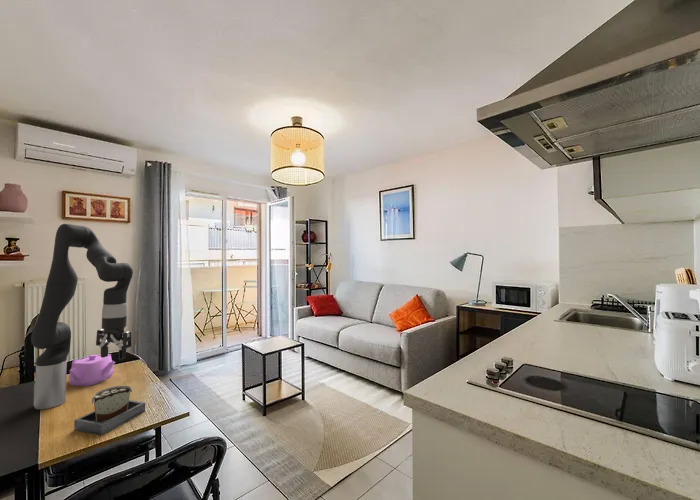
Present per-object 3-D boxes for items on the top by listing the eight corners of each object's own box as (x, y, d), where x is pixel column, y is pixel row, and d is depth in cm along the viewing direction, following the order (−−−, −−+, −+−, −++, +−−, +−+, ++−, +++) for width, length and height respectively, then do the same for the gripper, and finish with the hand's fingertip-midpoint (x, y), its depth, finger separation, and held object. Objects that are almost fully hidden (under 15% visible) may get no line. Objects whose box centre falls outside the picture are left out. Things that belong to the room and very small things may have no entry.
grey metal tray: (74, 430, 109) (74, 420, 109) (120, 407, 126) (120, 398, 126) (101, 435, 106) (101, 425, 106) (145, 411, 123) (145, 402, 123)
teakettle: (111, 371, 164) (111, 347, 164) (115, 380, 152) (116, 355, 152) (67, 379, 152) (68, 354, 153) (68, 391, 140) (69, 363, 140)
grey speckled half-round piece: (125, 407, 124) (126, 382, 124) (131, 412, 120) (132, 386, 120) (86, 420, 114) (87, 393, 114) (91, 426, 110) (92, 398, 111)
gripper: (89, 315, 115) (88, 359, 115) (119, 318, 112) (118, 363, 111) (109, 312, 122) (108, 353, 122) (138, 314, 119) (137, 356, 119)
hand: (113, 358), depth 117 cm, fingers open, 8 cm apart
